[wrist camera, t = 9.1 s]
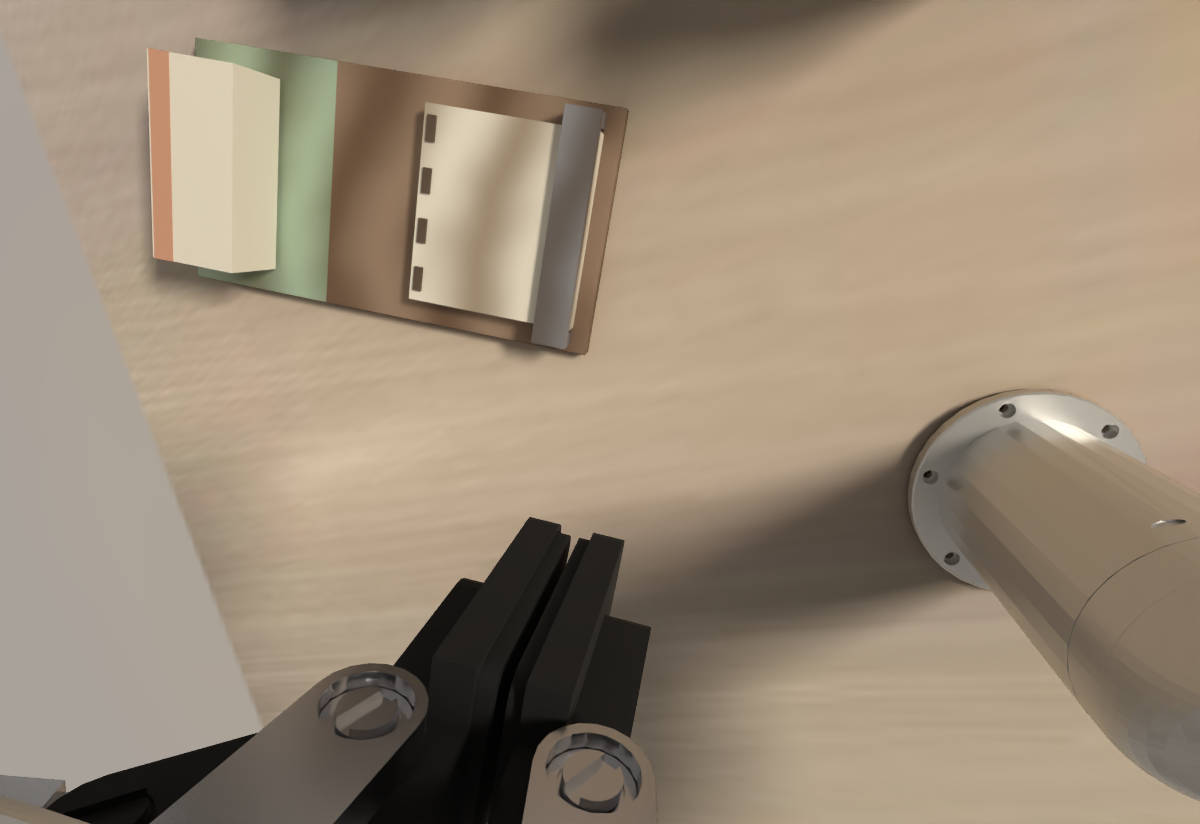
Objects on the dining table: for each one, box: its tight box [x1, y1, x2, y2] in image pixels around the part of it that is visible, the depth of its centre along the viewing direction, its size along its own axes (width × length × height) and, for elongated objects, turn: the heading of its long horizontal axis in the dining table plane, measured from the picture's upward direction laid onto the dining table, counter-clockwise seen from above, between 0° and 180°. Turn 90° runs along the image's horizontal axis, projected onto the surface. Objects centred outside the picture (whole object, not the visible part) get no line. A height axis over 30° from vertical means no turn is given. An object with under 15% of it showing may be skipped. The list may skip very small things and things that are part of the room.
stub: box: [147, 48, 280, 273], centre depth 38 cm, size 5×11×4 cm, turn 170°
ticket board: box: [195, 38, 629, 355], centre depth 39 cm, size 26×14×3 cm, turn 80°
